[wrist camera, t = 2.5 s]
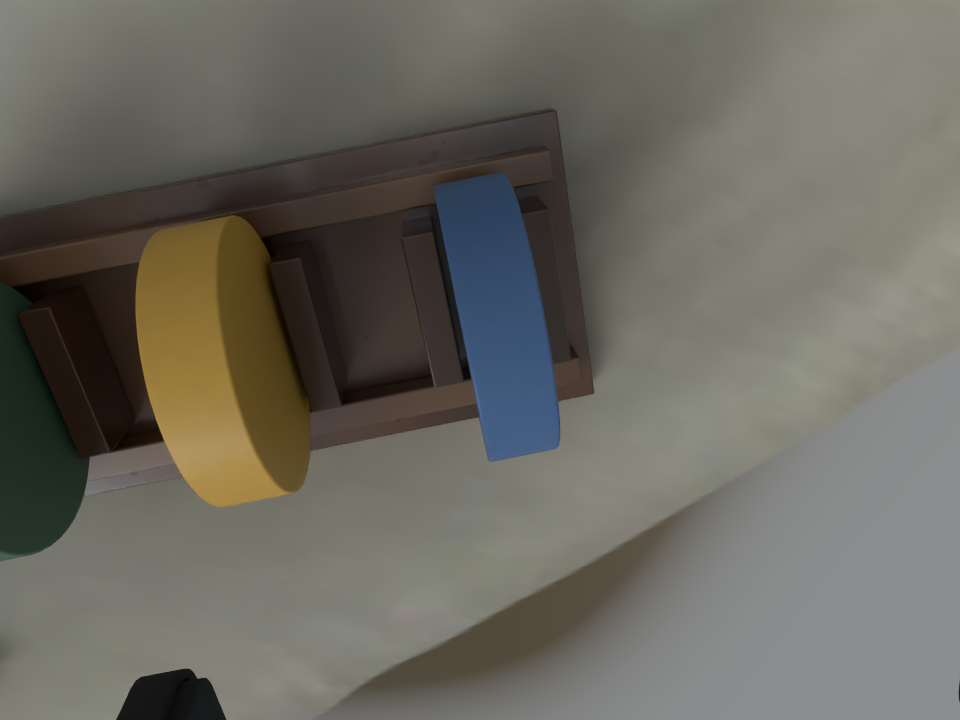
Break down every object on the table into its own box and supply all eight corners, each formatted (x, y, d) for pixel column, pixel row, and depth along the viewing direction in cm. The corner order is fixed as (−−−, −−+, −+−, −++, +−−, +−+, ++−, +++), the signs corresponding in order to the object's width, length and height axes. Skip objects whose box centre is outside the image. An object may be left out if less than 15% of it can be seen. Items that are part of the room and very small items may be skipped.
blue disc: (475, 392, 27) (499, 517, 20) (429, 167, 24) (438, 215, 17) (529, 381, 27) (575, 502, 20) (491, 156, 24) (527, 197, 17)
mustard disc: (267, 437, 27) (205, 565, 19) (199, 212, 24) (97, 256, 17) (322, 425, 27) (283, 549, 19) (260, 199, 24) (187, 238, 17)
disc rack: (20, 499, 28) (-26, 551, 25) (-107, 237, 24) (-180, 261, 21) (589, 385, 28) (610, 423, 25) (552, 107, 24) (571, 114, 21)
